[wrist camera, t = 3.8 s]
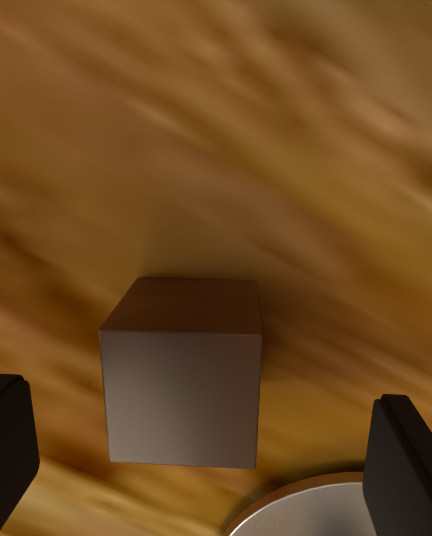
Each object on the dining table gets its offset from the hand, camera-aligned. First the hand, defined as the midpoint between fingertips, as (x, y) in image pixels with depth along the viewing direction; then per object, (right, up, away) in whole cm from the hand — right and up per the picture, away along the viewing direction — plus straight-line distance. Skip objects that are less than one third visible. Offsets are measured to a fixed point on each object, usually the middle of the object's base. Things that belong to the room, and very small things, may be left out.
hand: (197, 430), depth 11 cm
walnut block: (0, +2, +5) cm, 5 cm away
